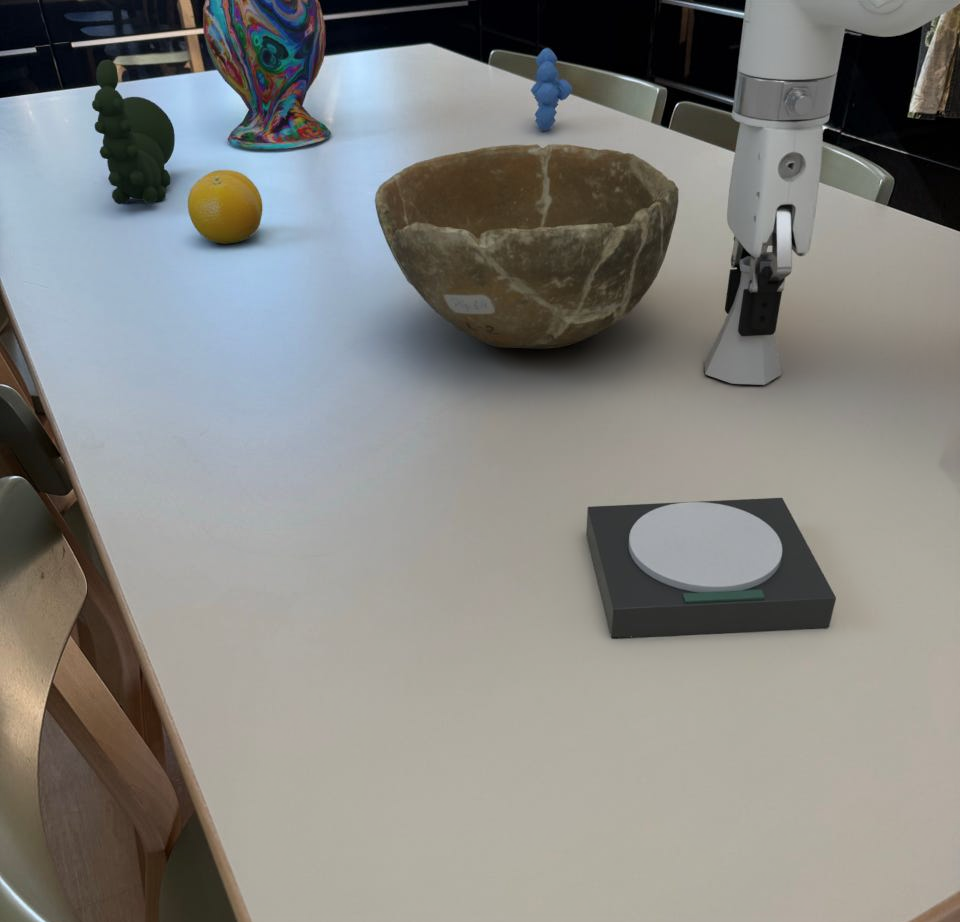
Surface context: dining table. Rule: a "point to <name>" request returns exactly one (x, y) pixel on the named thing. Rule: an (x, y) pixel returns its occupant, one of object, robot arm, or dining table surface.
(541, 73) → the grapes
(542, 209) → the bowl
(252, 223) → the fruit
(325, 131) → the vase
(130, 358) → the dining table surface
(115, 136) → the toy figurine
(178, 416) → the dining table surface
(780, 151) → the robot arm
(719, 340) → the flask
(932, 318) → the dining table surface
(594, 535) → the scale
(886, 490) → the dining table surface
